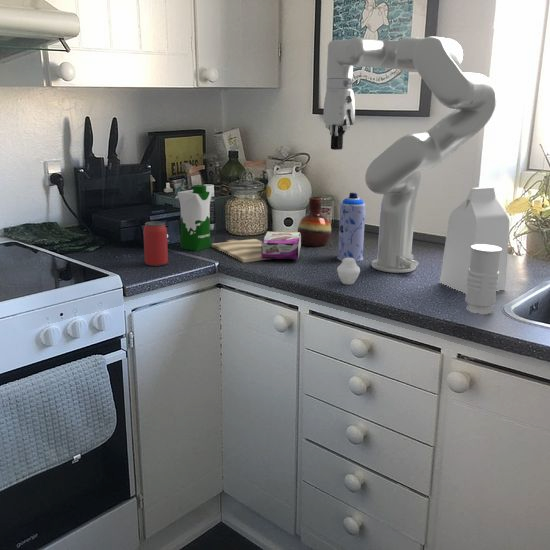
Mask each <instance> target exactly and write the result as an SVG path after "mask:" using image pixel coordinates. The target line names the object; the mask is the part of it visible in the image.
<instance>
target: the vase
mask: <svg viewBox="0 0 550 550" xmlns="http://www.w3.org/2000/svg"><path fill="white" fill-rule="evenodd" d="M308 198H309V199H308V201H309V203H308V204H309V212H308V213H307V214H305V215H304V216H303V217H302V218H301V219H300V220H299V223H298V225H297V232H301V245H304V246H307V247H323V246H325V245H327V244H328V242H329V241H330V239H331V236H332V235H331V234H332V225H331V222H330V221H329V219H328V218H327V217H326V216H325V215H324V214H322V210H321V209H322V200H323V198H322V197H321V196H311V197H308Z"/></svg>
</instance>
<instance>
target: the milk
mask: <svg viewBox="0 0 550 550" xmlns="http://www.w3.org/2000/svg"><path fill="white" fill-rule="evenodd" d="M467 195H468V196H466V199H465V200H464V201H462V202H461V203H460V204H459V205H458V206H457V207H455V208H454V210H452V212H451V213H450V214H449V218H448V222H447V230H446V237H445V244H444V249H443V256H442V261H441V262H442V263H441V271H440V276H439V284H441V283H442V284H441V285H443V284H444V285H443V286H445V285H447V286H446V287H448V286H449V287H448V288H450V287H451V288H450V289H452V288H453V289H452V290H454V289H456V290H455V291H457V290H458V291H457V292H459V291H461V292H463V293H462V294H464V293H465V294H464V295H466V293H467V287H466V285H467V283H468V282H467V279H468V277H467V275H468V269H469V268H470V261H471V252H472V249H471V246H472V245H476V244H486V245H494V246H498V247H500V248H502V251H501V252H500V259H499V268H498V271H499V276H498V277H499V280H498V285H497V290H504V289H505V290H506V285H507V274H508V273H507V270H508V253H509V239H510V237H509V236H510V218H509V216H508V214H507V212H506V211H505V210H504V209H505V208H503V207H502V206H501V204H500V202H499V201H498V199H497V197H496V193H495V187H491V186H483V187H472V188H471V189H470V191H469V193H468V194H467ZM497 290H496V291H497ZM461 292H460V293H461Z"/></svg>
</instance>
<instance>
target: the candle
mask: <svg viewBox="0 0 550 550" xmlns="http://www.w3.org/2000/svg"><path fill="white" fill-rule="evenodd" d="M471 249H472V252H471V261H470V268H469V269H468V275H467V277H468V279H467V282H468V283H467V285H466V287H467V293H466V294H465V299H464V301H465V303H467V306H466V308H465V310H466V309H467V310H469V311H470V312H469V311H468V312H469V313H472V312H473V313H472V314H476V313H479V314H478V315H489V314H488V313H490V314H492V313H493V309H492V307H493V306H495V305H496V297H497V295H496V294H497V292H496V290H497V285H498V280H499V277H498V276H499V271H498V268H499V259H500V252H501V251H502V248H500V247H498V246H494V245H486V244H476V245H472V246H471ZM467 310H466V311H467Z"/></svg>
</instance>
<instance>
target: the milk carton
mask: <svg viewBox="0 0 550 550" xmlns="http://www.w3.org/2000/svg"><path fill="white" fill-rule="evenodd" d="M212 193H213V192H212V191H209V190H207V186H206V185H205V184H195V185H193V186H192V189H190V190H189V189H188V190H184V191H183V190H182V191H177V196H178V200H179V204H180V243H179V245H180V247H179V248H180V249H183V250H190V251H193V252H198V251H202V250H206V249H209V248H212V239H211V219H210V218H211V217H210V215H211V214H210V213H211V211H210V209H211V208H210V207H211V201H212V200H211V199H212Z"/></svg>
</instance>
